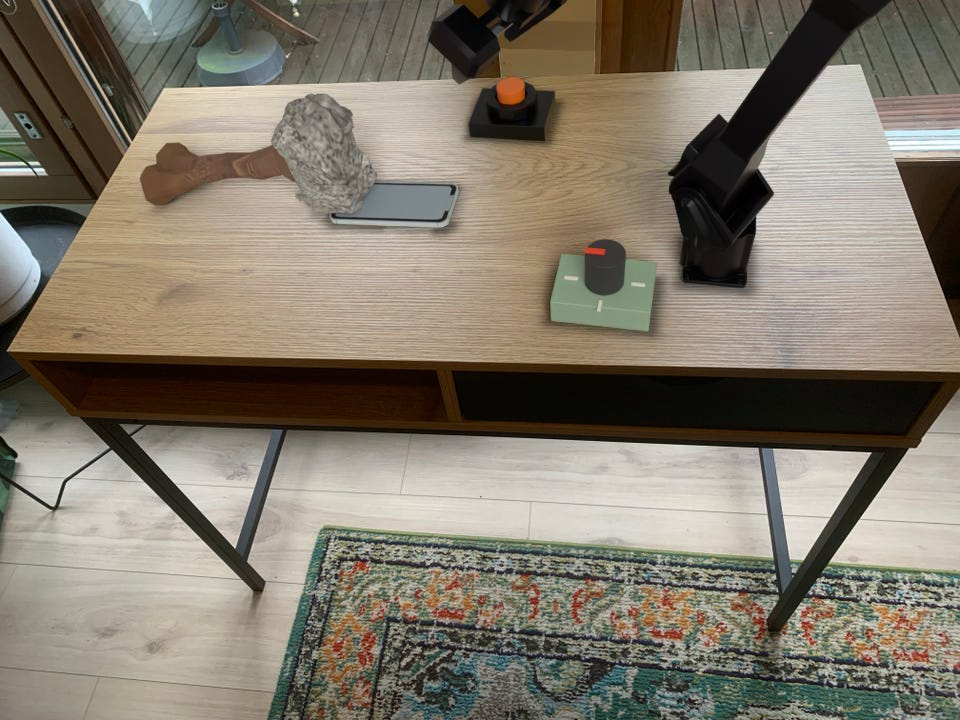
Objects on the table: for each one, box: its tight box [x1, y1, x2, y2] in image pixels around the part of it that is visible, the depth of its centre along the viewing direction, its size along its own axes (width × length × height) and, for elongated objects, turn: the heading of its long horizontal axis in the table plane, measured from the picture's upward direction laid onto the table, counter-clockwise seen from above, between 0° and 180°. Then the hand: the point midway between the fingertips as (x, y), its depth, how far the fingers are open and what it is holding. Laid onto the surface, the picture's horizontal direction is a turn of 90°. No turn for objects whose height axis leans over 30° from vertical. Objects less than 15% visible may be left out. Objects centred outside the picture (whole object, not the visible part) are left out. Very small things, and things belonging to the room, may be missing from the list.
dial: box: [584, 238, 627, 295], centre depth 74 cm, size 4×4×4 cm
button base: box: [468, 80, 556, 142], centre depth 98 cm, size 10×8×4 cm
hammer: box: [139, 93, 378, 215], centre depth 90 cm, size 15×10×30 cm
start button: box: [496, 76, 525, 104], centre depth 96 cm, size 4×4×2 cm
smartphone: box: [329, 181, 459, 229], centre depth 91 cm, size 7×1×15 cm
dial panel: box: [549, 253, 658, 332], centre depth 77 cm, size 10×8×3 cm
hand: (482, 59), depth 82 cm, fingers open, 9 cm apart
